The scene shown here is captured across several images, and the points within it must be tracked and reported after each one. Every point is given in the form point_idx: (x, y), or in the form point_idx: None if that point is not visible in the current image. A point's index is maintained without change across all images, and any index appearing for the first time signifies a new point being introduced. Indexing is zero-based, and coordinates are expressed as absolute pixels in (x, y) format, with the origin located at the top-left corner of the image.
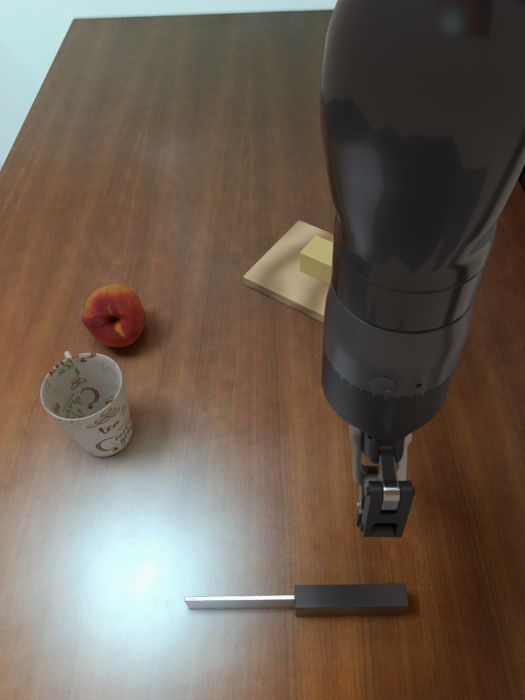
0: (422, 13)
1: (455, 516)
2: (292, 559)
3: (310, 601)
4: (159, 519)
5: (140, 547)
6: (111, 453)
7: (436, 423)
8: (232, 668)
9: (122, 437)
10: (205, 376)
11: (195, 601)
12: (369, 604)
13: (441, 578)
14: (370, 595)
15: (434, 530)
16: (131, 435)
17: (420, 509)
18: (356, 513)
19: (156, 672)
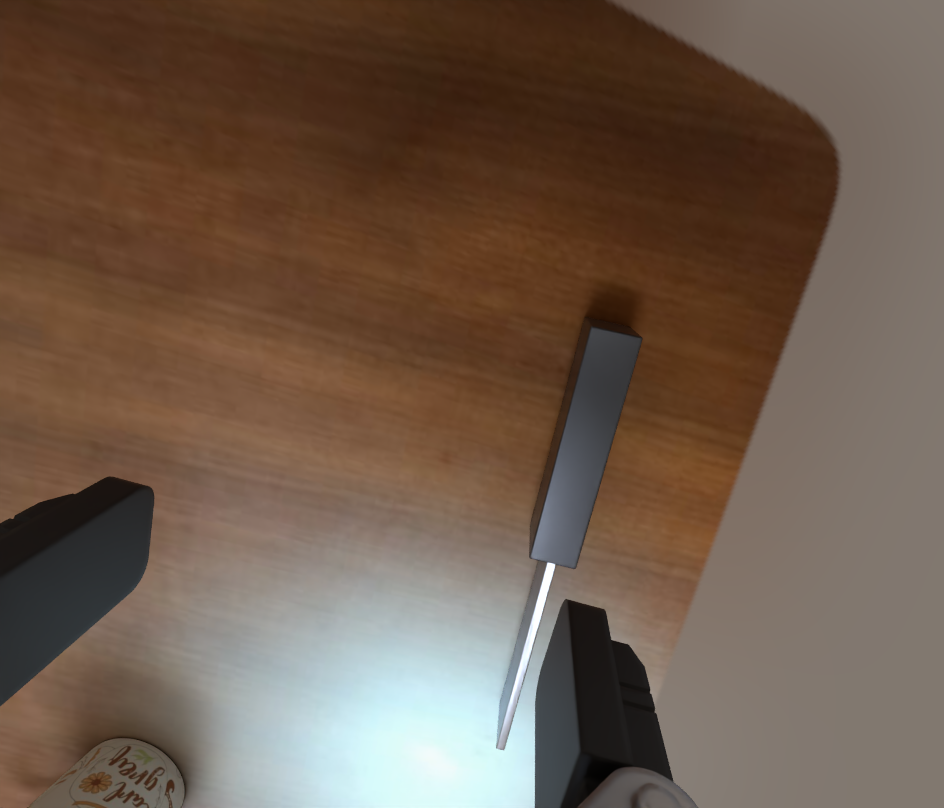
0: None
1: (446, 113)
2: (460, 511)
3: (570, 537)
4: (328, 722)
5: (376, 760)
6: (179, 786)
7: (185, 55)
8: None
9: (144, 789)
10: None
11: (509, 731)
12: (612, 421)
13: (580, 211)
14: (594, 412)
15: (469, 182)
16: (143, 743)
17: (411, 197)
18: (536, 728)
19: None
